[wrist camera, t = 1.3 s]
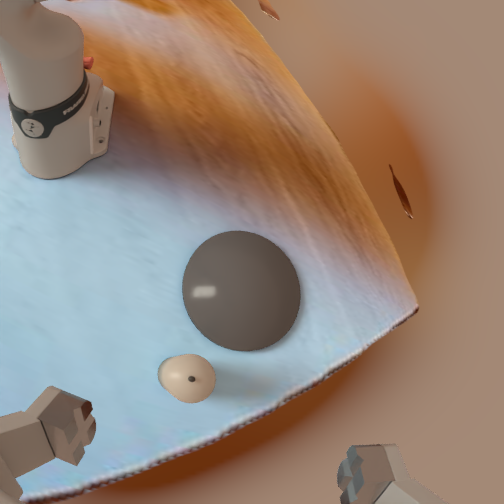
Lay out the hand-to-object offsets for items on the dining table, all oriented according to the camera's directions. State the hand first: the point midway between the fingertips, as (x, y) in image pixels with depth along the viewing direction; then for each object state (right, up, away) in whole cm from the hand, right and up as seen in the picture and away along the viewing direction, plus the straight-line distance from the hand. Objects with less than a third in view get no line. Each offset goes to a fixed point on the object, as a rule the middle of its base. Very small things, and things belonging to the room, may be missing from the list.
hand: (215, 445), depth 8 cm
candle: (-9, -11, +31) cm, 34 cm away
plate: (0, 0, +39) cm, 39 cm away
